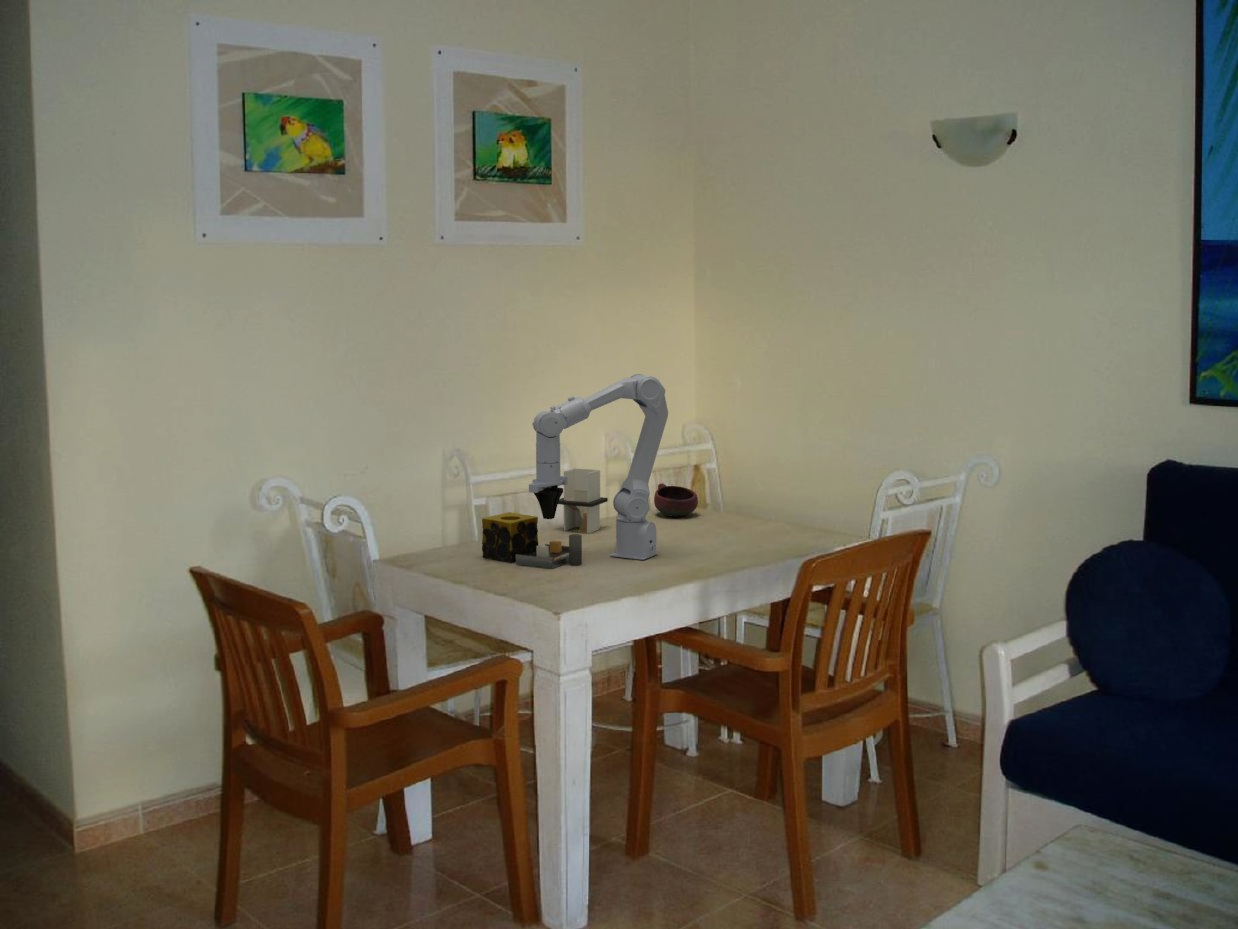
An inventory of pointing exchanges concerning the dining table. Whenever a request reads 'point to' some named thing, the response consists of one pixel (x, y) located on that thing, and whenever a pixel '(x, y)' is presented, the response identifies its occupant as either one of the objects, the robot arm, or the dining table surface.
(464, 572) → the dining table surface
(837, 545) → the dining table surface
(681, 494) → the bowl
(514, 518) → the candle
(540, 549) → the upright cream block
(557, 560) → the grey tray
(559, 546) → the tan rectangular prism
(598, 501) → the model fireplace
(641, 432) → the robot arm
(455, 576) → the dining table surface
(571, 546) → the post
